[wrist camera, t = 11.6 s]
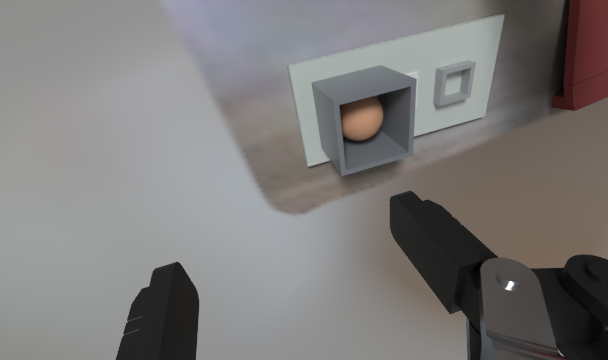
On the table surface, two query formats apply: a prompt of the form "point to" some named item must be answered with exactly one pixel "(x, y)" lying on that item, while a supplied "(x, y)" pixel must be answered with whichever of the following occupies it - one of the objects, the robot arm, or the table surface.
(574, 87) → the carton
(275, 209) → the table surface
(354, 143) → the ball rack
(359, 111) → the ball
